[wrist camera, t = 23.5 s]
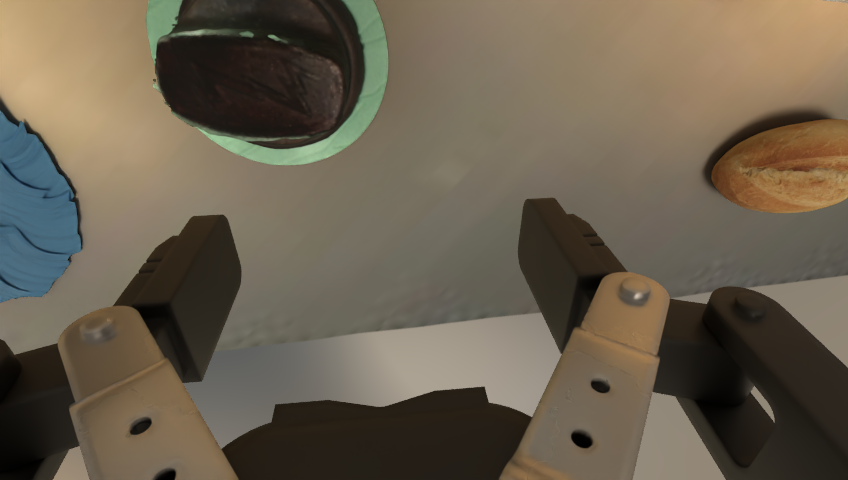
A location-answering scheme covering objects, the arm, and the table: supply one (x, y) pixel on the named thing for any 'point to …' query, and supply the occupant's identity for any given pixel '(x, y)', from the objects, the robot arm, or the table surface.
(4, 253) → the decorative plate
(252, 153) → the chocolate cake
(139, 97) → the table surface
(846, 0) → the milk
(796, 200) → the bread roll
